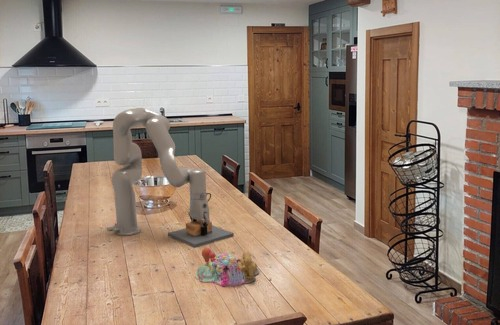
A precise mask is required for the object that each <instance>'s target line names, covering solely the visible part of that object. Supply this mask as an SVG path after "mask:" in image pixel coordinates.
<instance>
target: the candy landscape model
mask: <svg viewBox="0 0 500 325" xmlns="http://www.w3.org/2000/svg"><path fill="white" fill-rule="evenodd" d="M201 256H202V257H203V259H204V262H205V263H204V264H202V265H201V264H200V265H198V267H197V269H196V270H195V272H194V274H195V275H194V278H195V280H197V281H198V280H199V281H198V282H199V283H204V284H208V283H210V284H211V283H213V284H216V285H218V286H219V287H223V288H224V287H232V288H233V287H234V286H235V287H237V286H240V285H243V284H249V283H253V282H254V281H255V280H257V278H255V276H256V275H257V274H259V273H260V270H259V268H258V264H257V263H256V262H254V261H252V254H251V253H250V252H247V251H246V252H243V253H242V258H241V259H236V257H235V256H233V255H232V254H229V253H226V252H225V253H219V254H217V255H216V254H215V252H214V251H213V250H212V249H211V248H209V247H205V248H204V249H202V251H201Z"/></svg>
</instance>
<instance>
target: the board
mask: <svg viewBox="0 0 500 325" xmlns="http://www.w3.org/2000/svg"><path fill="white" fill-rule="evenodd" d="M234 235H235V234H234V232H231V231H229V230H227V229H223V228H221V227H218V226H215V225H213V224H212V233H208V234H206V235H201V236H197V237H192V236H190V235H188V234H186V227H185V228H181V229H177V230H174V231H171V232H170V231H169V232H167V237H170V238H172V239H175V240H177V241H179V242H181V243H183V244H185V245H188V246H190V247H192V248H198V247H201V246H204V245H209V244H212V243H214V242H219V241H222V240H225V239H229V238H232V237H234Z"/></svg>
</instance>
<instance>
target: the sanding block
mask: <svg viewBox="0 0 500 325" xmlns="http://www.w3.org/2000/svg"><path fill="white" fill-rule="evenodd" d="M203 220H204V219H203ZM212 223H213V222H212V221H210V222H209V224H208V226H207V234H208V233H212V225H213V224H212ZM203 224H204V221H203ZM201 227H202V226H201V223H200V221H198V220H197V221H194V222H191V221H190V222H187V223H185V228H186V234H188V235H190V236H192V237H197V236H201Z"/></svg>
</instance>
